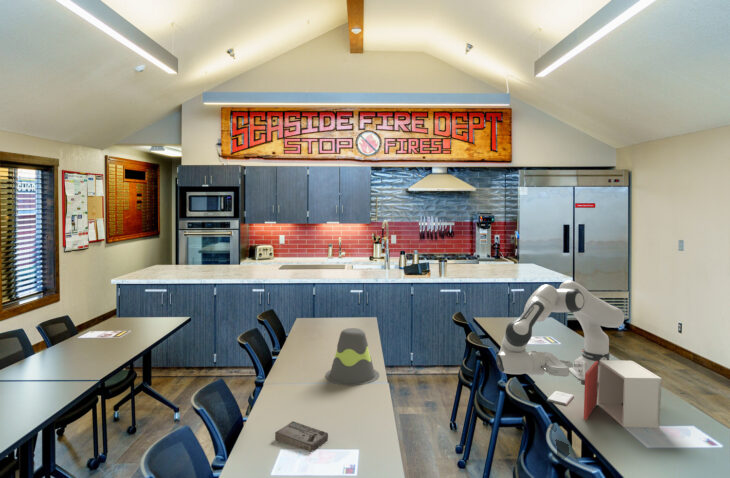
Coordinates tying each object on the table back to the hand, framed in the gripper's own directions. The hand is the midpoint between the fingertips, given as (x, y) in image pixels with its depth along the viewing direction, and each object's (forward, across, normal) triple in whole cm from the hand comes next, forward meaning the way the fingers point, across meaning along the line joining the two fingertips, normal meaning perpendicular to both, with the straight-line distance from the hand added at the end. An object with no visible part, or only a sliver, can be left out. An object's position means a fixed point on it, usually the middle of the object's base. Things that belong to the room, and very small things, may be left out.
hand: (571, 364), depth 193 cm
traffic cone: (-93, +46, +23) cm, 106 cm away
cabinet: (+25, +4, +22) cm, 34 cm away
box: (-108, -23, +24) cm, 113 cm away
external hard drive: (+4, +20, +23) cm, 31 cm away
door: (+11, +7, +22) cm, 25 cm away
